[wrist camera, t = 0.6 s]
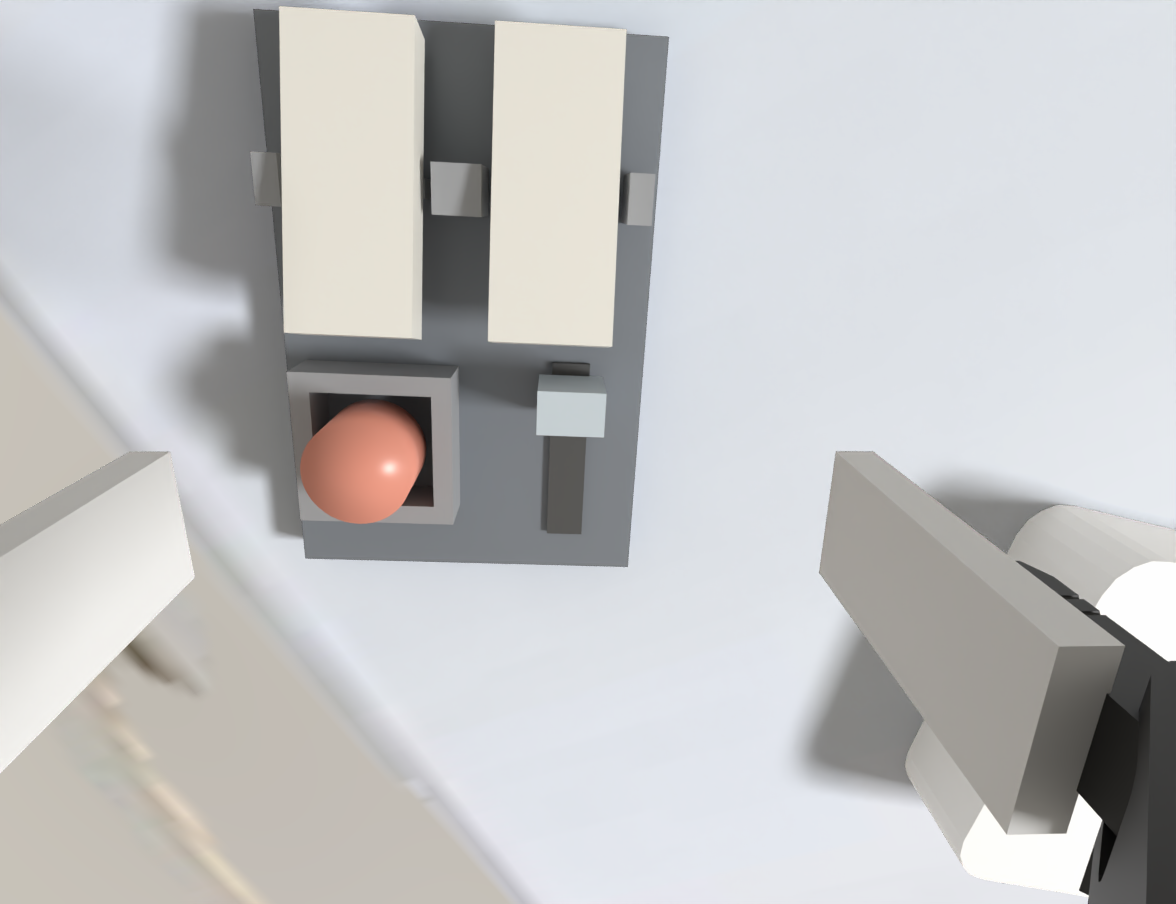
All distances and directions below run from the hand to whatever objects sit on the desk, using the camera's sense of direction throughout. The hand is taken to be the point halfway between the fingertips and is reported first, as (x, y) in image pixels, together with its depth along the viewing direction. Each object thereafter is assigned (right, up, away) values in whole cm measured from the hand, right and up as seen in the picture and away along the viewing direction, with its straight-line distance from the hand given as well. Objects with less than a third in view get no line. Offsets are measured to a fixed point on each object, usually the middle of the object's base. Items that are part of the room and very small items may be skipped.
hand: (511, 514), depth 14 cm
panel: (-4, +8, +21) cm, 22 cm away
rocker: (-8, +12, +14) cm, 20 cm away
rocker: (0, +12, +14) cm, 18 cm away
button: (-8, +2, +19) cm, 21 cm away
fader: (+1, +4, +19) cm, 20 cm away
